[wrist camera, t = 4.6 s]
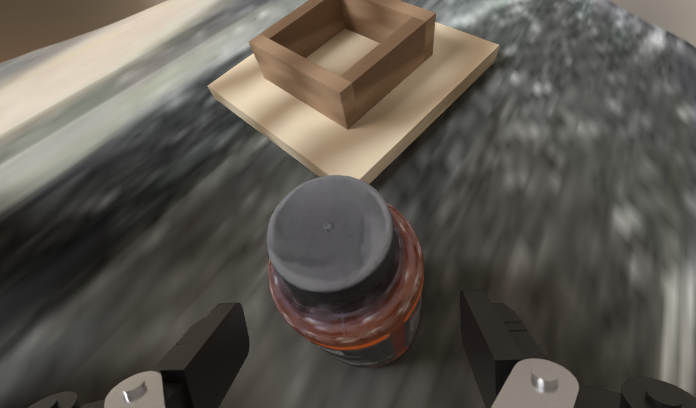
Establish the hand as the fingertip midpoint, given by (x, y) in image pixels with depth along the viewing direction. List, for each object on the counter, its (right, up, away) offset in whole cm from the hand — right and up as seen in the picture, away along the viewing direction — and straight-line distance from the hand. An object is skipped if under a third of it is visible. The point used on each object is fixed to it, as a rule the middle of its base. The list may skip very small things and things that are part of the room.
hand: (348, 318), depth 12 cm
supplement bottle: (+1, -2, +8) cm, 8 cm away
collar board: (0, +15, +18) cm, 24 cm away
